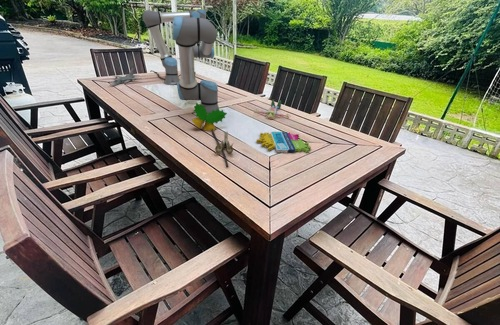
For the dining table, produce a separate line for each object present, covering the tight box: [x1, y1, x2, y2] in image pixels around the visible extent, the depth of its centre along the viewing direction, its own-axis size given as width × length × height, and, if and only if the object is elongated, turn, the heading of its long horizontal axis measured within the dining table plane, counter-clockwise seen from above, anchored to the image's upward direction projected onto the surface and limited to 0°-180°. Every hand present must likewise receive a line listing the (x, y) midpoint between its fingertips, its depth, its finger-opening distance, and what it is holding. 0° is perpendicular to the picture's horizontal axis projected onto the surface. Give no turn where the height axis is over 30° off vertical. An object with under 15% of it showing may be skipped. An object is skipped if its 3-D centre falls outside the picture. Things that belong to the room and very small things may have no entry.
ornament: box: [191, 102, 228, 132], centre depth 162 cm, size 21×8×15 cm, turn 105°
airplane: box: [109, 67, 143, 87], centre depth 251 cm, size 38×32×10 cm
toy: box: [252, 99, 291, 120], centre depth 197 cm, size 28×7×30 cm
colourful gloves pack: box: [256, 131, 312, 154], centre depth 152 cm, size 26×2×30 cm
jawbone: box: [214, 131, 234, 156], centre depth 136 cm, size 9×15×10 cm
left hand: (202, 50), depth 272 cm, fingers open, 13 cm apart
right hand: (189, 94), depth 205 cm, fingers closed on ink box, 5 cm apart
